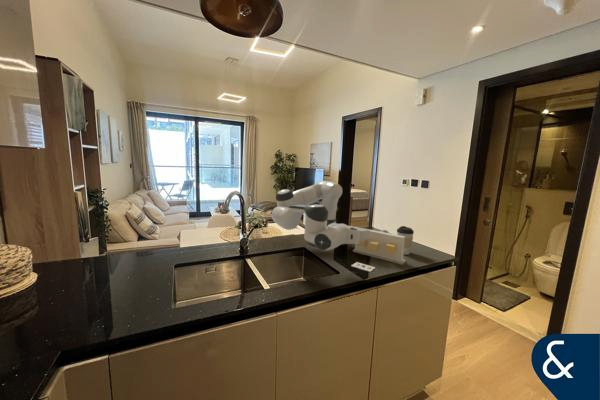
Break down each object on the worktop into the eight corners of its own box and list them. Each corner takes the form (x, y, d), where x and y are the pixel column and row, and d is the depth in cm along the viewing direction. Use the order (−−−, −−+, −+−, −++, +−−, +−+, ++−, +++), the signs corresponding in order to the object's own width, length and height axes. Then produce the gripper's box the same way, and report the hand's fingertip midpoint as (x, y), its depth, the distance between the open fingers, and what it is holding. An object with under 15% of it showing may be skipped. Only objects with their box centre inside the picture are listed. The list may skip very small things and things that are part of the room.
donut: (386, 243, 160) (387, 228, 159) (390, 244, 157) (391, 229, 156) (375, 245, 155) (376, 230, 154) (379, 247, 152) (380, 231, 151)
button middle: (368, 249, 131) (369, 242, 130) (374, 246, 136) (374, 239, 136) (376, 251, 128) (376, 244, 128) (381, 248, 134) (381, 241, 133)
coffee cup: (414, 255, 139) (416, 229, 137) (398, 255, 139) (400, 229, 137) (407, 250, 148) (410, 225, 146) (392, 249, 148) (394, 225, 146)
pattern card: (351, 266, 123) (351, 265, 123) (356, 262, 128) (356, 261, 127) (370, 272, 117) (370, 271, 117) (375, 268, 121) (375, 267, 121)
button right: (385, 252, 128) (386, 245, 127) (390, 248, 133) (390, 241, 133) (393, 254, 125) (393, 246, 125) (397, 250, 131) (398, 243, 130)
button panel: (352, 251, 144) (354, 228, 141) (356, 249, 147) (358, 226, 145) (402, 264, 126) (404, 238, 124) (405, 261, 130) (407, 236, 128)
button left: (357, 245, 138) (357, 238, 137) (362, 242, 143) (363, 235, 143) (363, 247, 135) (364, 240, 135) (369, 243, 141) (369, 237, 140)
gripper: (322, 235, 119) (336, 229, 129) (361, 245, 106) (374, 237, 117) (322, 223, 118) (337, 218, 128) (362, 231, 105) (375, 225, 116)
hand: (355, 227), depth 122 cm, fingers closed
